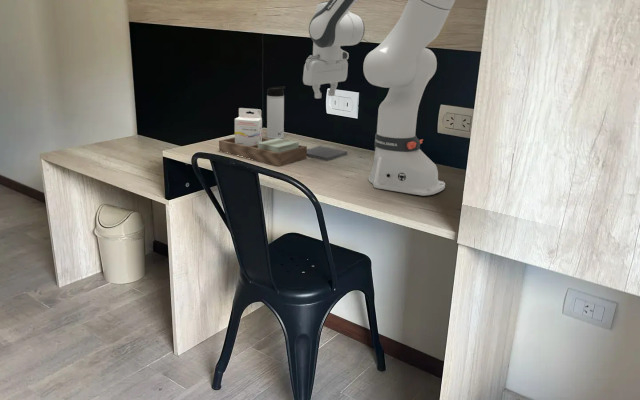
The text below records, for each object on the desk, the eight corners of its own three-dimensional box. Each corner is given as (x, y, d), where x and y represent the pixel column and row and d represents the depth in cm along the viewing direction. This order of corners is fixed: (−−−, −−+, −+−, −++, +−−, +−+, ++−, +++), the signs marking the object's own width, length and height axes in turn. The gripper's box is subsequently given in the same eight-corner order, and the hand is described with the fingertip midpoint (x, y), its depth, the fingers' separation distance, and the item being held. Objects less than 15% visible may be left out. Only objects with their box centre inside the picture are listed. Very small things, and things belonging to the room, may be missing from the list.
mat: (347, 154, 193) (347, 151, 193) (327, 160, 184) (327, 157, 184) (319, 148, 200) (319, 145, 199) (298, 154, 191) (298, 151, 190)
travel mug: (283, 141, 209) (284, 87, 202) (266, 141, 209) (266, 87, 202) (285, 138, 214) (285, 85, 208) (268, 137, 215) (268, 85, 208)
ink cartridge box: (234, 153, 190) (233, 109, 186) (238, 149, 195) (237, 107, 190) (258, 154, 189) (258, 111, 184) (262, 151, 194) (262, 109, 189)
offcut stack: (300, 159, 186) (300, 141, 184) (279, 166, 177) (280, 147, 175) (276, 154, 191) (276, 137, 189) (255, 160, 182) (255, 142, 180)
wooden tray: (306, 158, 186) (306, 146, 185) (279, 166, 176) (279, 154, 174) (247, 145, 201) (247, 134, 200) (219, 152, 191) (218, 140, 189)
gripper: (314, 56, 171) (313, 101, 176) (351, 53, 187) (349, 95, 192) (298, 54, 175) (297, 99, 179) (336, 52, 191) (334, 93, 195)
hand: (324, 97), depth 186 cm, fingers open, 6 cm apart
